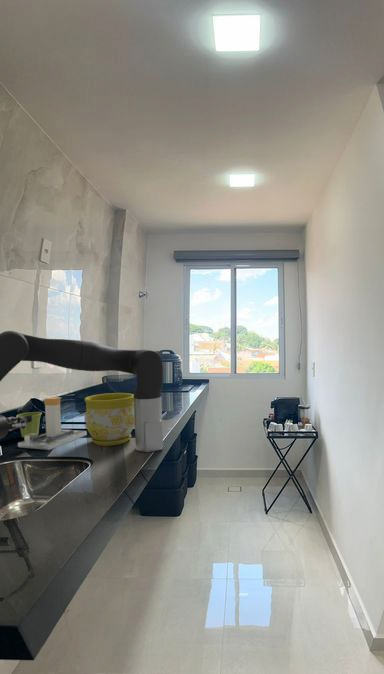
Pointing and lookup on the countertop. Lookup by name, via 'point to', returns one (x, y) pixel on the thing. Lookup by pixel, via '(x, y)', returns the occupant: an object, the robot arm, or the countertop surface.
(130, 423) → the flowerpot
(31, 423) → the plant pot
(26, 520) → the countertop surface
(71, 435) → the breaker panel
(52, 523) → the countertop surface
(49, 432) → the white bottle
